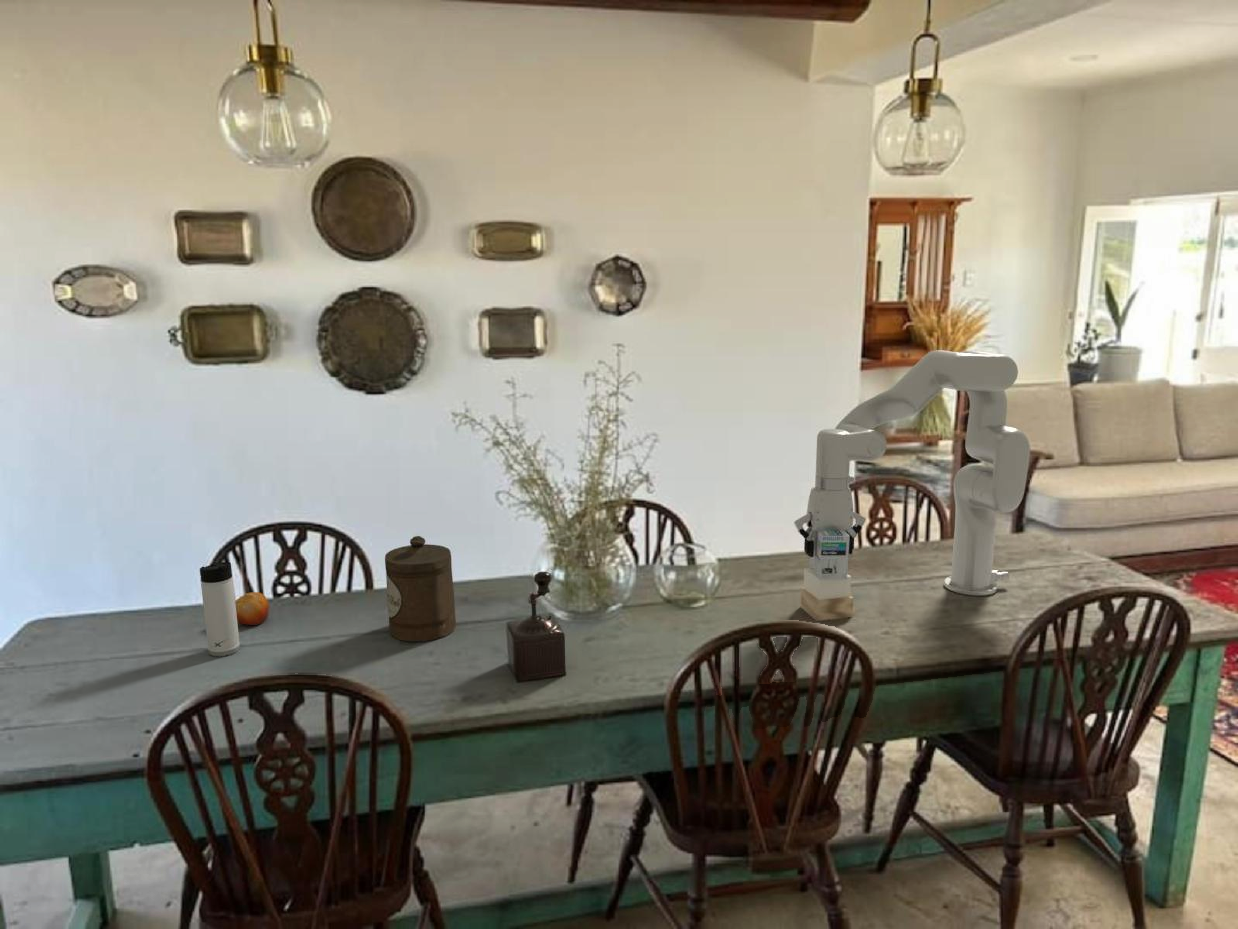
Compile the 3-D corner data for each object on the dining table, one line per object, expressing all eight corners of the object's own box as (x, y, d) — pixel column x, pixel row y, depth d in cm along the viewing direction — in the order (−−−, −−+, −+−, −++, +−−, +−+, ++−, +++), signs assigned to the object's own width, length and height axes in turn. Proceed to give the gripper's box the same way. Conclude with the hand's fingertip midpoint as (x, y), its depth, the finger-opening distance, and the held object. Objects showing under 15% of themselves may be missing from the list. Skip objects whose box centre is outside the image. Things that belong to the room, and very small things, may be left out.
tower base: (835, 604, 227) (836, 584, 226) (852, 618, 218) (853, 597, 217) (800, 607, 225) (801, 587, 224) (816, 621, 216) (817, 601, 215)
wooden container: (394, 618, 220) (388, 528, 215) (458, 615, 221) (453, 526, 216) (384, 644, 205) (378, 548, 201) (452, 641, 207) (448, 546, 202)
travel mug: (221, 659, 198) (212, 570, 194) (202, 653, 201) (192, 564, 197) (247, 649, 203) (238, 561, 199) (228, 643, 207) (218, 556, 202)
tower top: (833, 585, 225) (834, 565, 224) (850, 596, 218) (851, 576, 217) (803, 588, 223) (804, 568, 222) (819, 600, 216) (819, 579, 215)
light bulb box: (848, 580, 214) (850, 535, 212) (819, 580, 214) (821, 535, 212) (835, 564, 225) (838, 521, 222) (808, 564, 225) (810, 521, 222)
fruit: (283, 610, 221) (267, 588, 216) (263, 637, 216) (246, 615, 211) (258, 605, 225) (242, 584, 219) (238, 631, 220) (220, 610, 214)
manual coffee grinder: (570, 676, 189) (568, 592, 185) (516, 683, 186) (513, 598, 182) (552, 646, 204) (550, 567, 200) (502, 652, 200) (499, 573, 196)
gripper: (859, 477, 220) (856, 546, 224) (790, 481, 217) (787, 551, 221) (874, 484, 213) (870, 556, 217) (802, 489, 210) (800, 561, 213)
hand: (828, 553), depth 219 cm, fingers open, 9 cm apart
